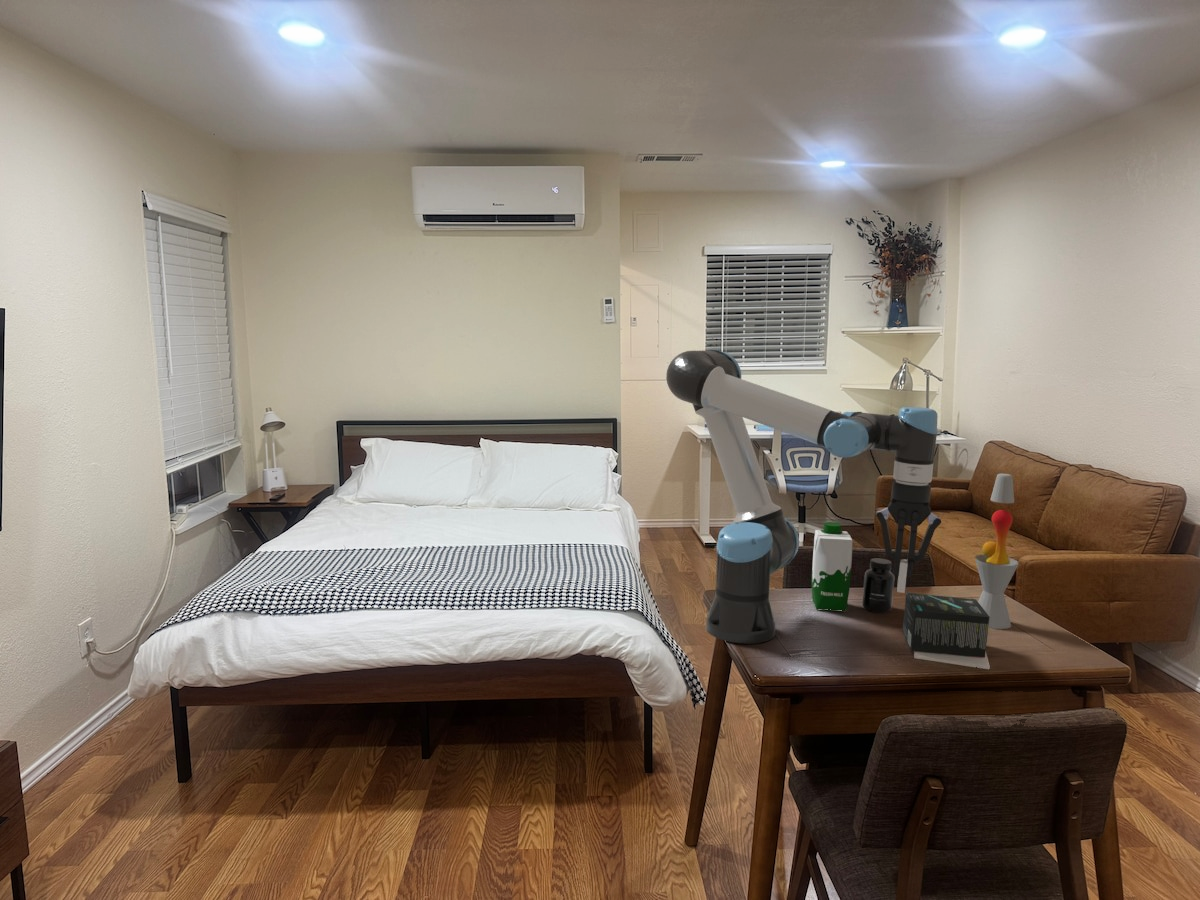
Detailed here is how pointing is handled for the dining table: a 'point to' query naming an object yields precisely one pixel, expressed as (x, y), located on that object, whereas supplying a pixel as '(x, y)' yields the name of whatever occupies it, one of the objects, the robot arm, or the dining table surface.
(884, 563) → the supplement bottle
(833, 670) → the dining table surface
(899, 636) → the dining table surface
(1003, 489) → the lava lamp
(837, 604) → the milk carton
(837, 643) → the dining table surface
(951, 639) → the tampon box
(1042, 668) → the dining table surface
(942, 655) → the mat
